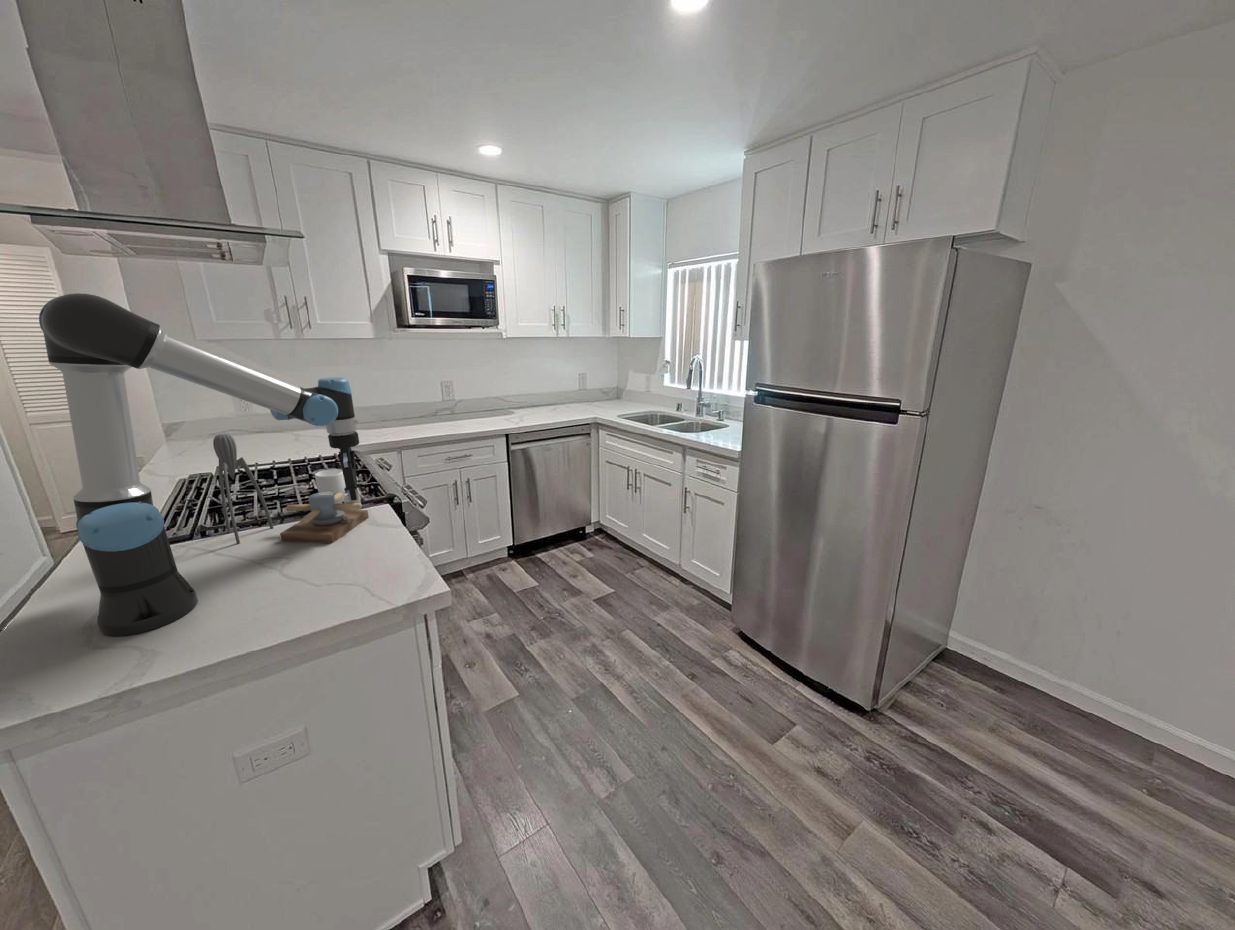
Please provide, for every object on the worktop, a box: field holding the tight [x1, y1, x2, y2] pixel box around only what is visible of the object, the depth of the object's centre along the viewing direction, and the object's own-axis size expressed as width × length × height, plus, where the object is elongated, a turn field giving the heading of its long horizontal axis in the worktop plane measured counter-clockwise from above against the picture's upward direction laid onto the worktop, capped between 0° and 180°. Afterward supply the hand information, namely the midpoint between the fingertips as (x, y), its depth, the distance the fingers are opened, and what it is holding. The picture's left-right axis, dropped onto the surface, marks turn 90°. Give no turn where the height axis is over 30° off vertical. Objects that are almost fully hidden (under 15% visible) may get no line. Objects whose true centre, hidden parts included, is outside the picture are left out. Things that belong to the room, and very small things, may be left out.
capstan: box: [285, 492, 363, 526], centre depth 140 cm, size 21×21×8 cm
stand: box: [279, 509, 369, 544], centre depth 142 cm, size 18×15×4 cm
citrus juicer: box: [212, 433, 274, 545], centre depth 135 cm, size 11×10×30 cm
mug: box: [314, 468, 359, 504], centre depth 161 cm, size 12×8×11 cm
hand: (356, 508), depth 144 cm, fingers closed
